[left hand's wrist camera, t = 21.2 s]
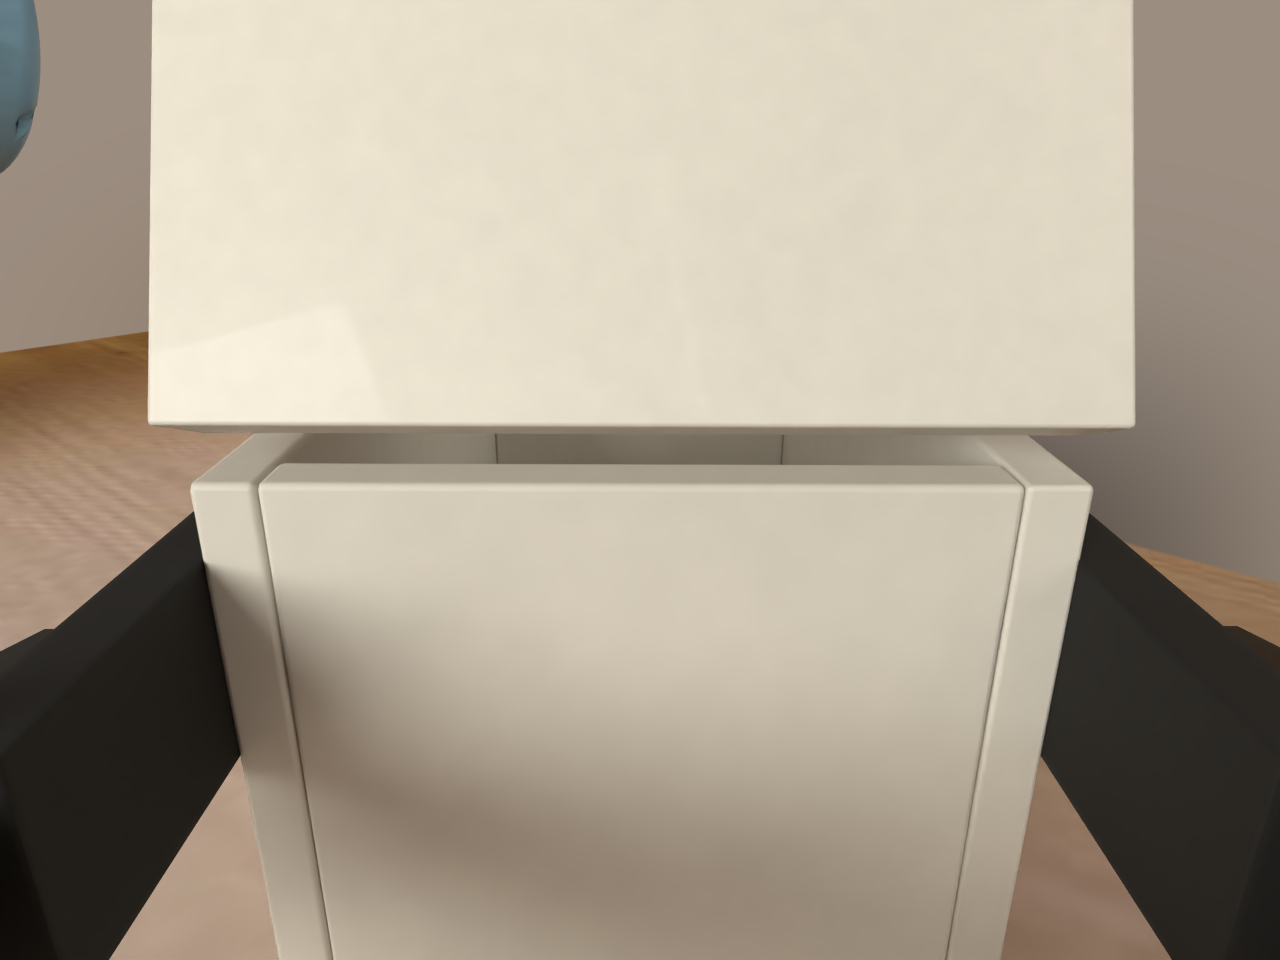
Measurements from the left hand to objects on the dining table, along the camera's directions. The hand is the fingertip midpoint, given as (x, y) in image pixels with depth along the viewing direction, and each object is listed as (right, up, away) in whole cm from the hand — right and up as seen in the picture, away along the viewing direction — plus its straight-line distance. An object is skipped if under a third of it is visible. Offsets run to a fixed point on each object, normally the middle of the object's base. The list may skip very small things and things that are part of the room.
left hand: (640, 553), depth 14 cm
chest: (0, -5, +8) cm, 9 cm away
